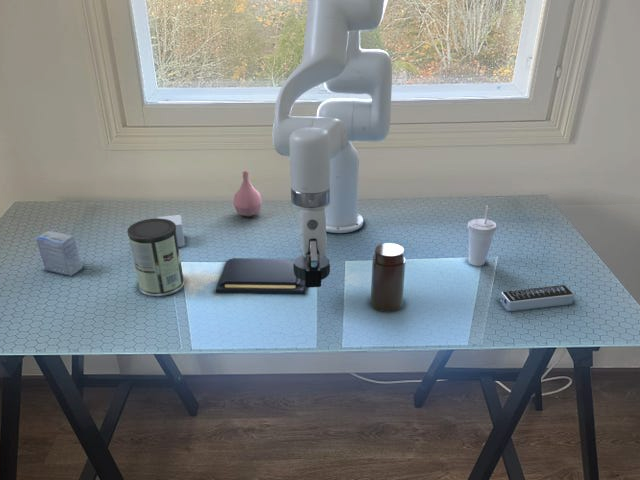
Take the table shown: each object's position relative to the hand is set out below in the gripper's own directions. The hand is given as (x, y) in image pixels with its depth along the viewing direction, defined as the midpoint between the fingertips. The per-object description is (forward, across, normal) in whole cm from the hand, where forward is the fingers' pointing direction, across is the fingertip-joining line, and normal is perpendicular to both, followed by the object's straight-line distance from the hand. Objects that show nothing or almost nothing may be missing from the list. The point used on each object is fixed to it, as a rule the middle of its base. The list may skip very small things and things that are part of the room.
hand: (311, 276), depth 135 cm
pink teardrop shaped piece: (+6, +49, +14) cm, 51 cm away
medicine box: (+7, +21, +58) cm, 62 cm away
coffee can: (+7, +12, +34) cm, 36 cm away
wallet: (+7, +13, +10) cm, 18 cm away
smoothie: (+7, +15, -40) cm, 43 cm away
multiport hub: (+7, -4, -47) cm, 48 cm away
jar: (+7, -1, -16) cm, 17 cm away
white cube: (+7, +34, +33) cm, 48 cm away
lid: (-3, 0, 0) cm, 3 cm away
